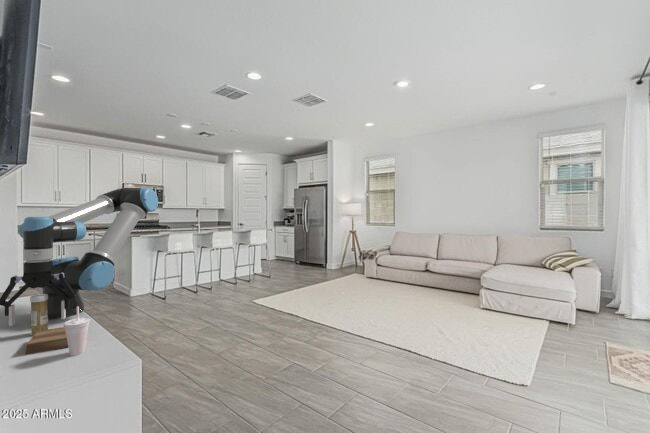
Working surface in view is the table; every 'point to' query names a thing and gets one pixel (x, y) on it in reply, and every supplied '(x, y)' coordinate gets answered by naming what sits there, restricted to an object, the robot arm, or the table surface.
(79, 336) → the smoothie
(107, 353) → the table surface
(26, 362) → the table surface
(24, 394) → the table surface
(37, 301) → the sprinkles bottle
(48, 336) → the walnut base
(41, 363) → the table surface
